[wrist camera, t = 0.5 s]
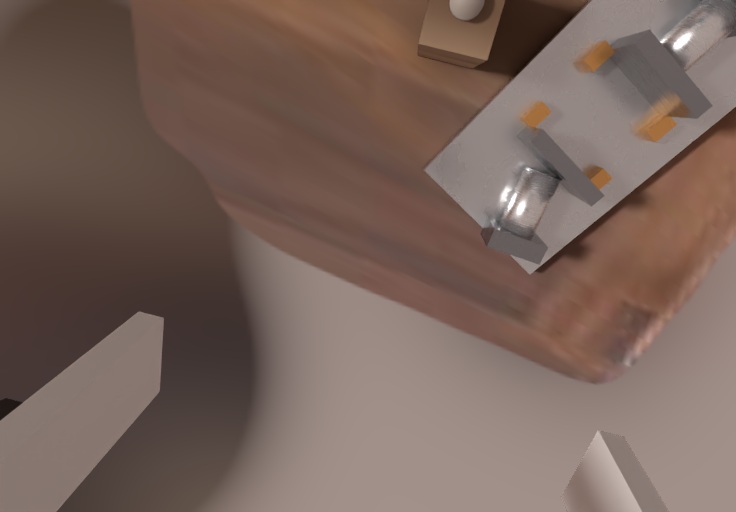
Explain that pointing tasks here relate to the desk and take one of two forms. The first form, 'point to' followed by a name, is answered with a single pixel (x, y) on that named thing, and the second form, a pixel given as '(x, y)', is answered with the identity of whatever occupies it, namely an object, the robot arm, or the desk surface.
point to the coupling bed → (597, 111)
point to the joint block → (459, 30)
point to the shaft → (523, 217)
